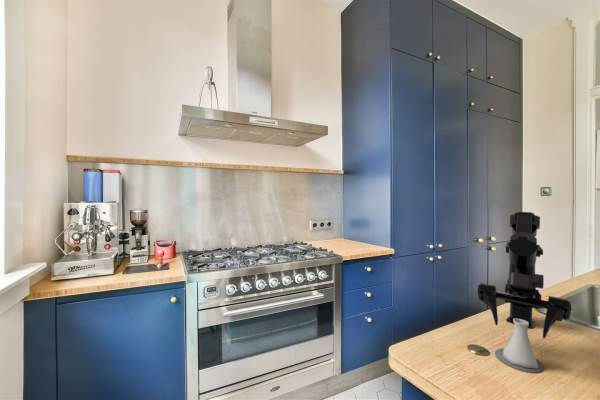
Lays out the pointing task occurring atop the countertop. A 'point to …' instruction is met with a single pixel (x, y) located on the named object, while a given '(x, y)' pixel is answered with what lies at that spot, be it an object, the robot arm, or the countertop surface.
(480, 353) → the bronze token
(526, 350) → the flask
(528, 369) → the rubber mat
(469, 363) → the countertop surface
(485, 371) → the countertop surface
